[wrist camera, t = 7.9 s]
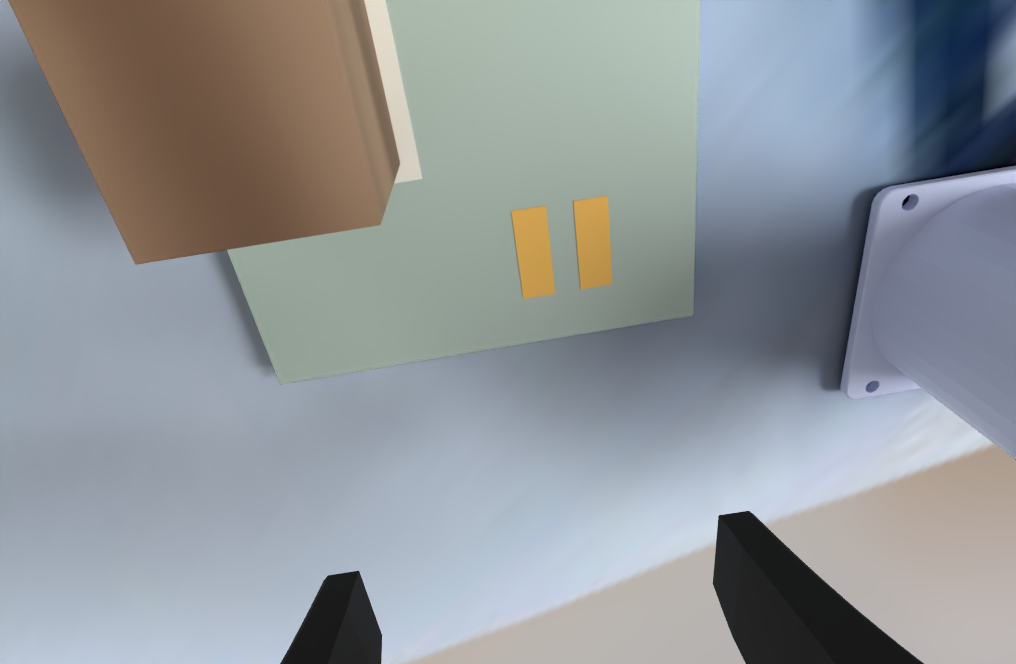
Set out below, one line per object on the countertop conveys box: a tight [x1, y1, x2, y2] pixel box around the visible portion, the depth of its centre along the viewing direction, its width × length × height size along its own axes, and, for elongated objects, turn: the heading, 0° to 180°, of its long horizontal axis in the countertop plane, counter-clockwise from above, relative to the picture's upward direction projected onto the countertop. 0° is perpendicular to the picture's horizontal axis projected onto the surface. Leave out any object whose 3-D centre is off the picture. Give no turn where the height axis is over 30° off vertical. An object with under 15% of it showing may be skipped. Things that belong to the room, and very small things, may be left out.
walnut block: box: [8, 0, 400, 265], centre depth 12 cm, size 5×5×5 cm
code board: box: [227, 0, 700, 385], centre depth 15 cm, size 14×17×1 cm
